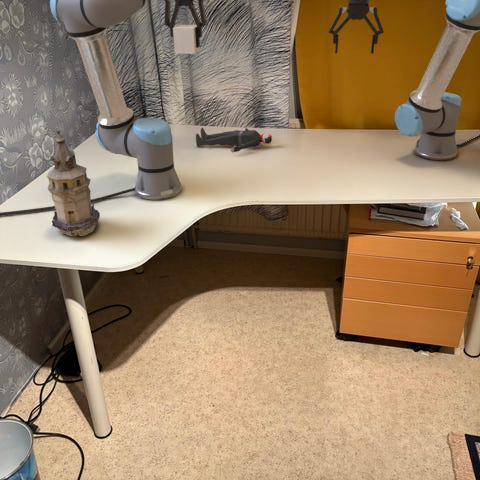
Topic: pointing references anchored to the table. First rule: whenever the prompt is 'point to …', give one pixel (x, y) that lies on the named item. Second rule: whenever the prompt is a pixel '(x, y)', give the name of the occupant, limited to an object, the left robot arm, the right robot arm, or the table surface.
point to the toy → (234, 139)
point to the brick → (185, 39)
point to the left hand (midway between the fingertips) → (187, 46)
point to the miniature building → (70, 193)
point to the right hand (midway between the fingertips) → (354, 52)
